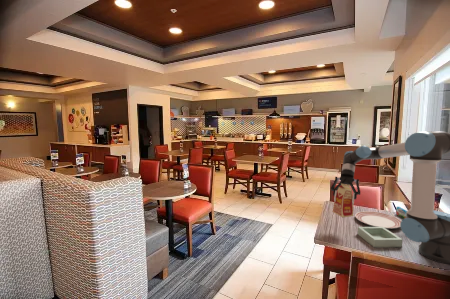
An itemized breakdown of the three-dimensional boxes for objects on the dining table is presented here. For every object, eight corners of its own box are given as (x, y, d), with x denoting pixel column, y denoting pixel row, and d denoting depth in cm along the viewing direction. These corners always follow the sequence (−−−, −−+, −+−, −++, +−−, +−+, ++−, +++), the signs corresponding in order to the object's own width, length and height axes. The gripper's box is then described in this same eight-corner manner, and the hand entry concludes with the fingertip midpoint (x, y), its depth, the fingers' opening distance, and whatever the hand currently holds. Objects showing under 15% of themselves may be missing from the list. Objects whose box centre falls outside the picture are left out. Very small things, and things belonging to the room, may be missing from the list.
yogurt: (395, 214, 172) (396, 206, 172) (397, 214, 172) (398, 206, 172) (407, 221, 160) (408, 212, 160) (409, 221, 160) (410, 212, 160)
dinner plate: (371, 232, 144) (371, 227, 144) (347, 215, 171) (347, 211, 171) (413, 231, 145) (414, 226, 145) (382, 214, 172) (382, 210, 172)
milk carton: (342, 217, 138) (344, 185, 135) (331, 212, 147) (333, 181, 144) (354, 216, 140) (356, 184, 138) (343, 210, 149) (345, 180, 147)
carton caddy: (401, 247, 126) (402, 239, 126) (374, 247, 126) (374, 239, 126) (382, 233, 142) (382, 226, 141) (357, 234, 142) (358, 227, 141)
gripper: (367, 177, 147) (364, 208, 136) (330, 173, 159) (325, 201, 148) (367, 170, 142) (364, 202, 131) (329, 167, 154) (323, 195, 143)
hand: (343, 201), depth 140 cm, fingers closed on milk carton, 9 cm apart
